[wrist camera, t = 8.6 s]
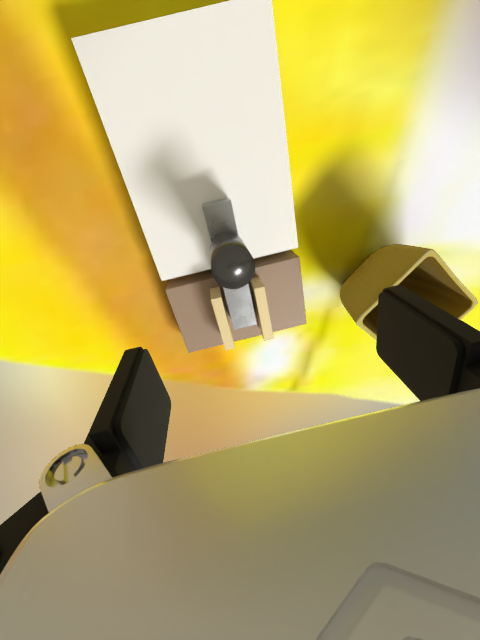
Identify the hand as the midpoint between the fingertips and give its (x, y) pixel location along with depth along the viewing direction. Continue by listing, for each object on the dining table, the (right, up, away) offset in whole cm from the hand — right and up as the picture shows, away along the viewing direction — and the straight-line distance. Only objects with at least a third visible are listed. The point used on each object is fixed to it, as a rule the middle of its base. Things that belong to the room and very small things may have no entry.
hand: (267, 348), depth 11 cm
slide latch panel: (-4, +12, +17) cm, 21 cm away
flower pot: (+14, +6, +23) cm, 28 cm away
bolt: (-2, +7, +17) cm, 18 cm away
